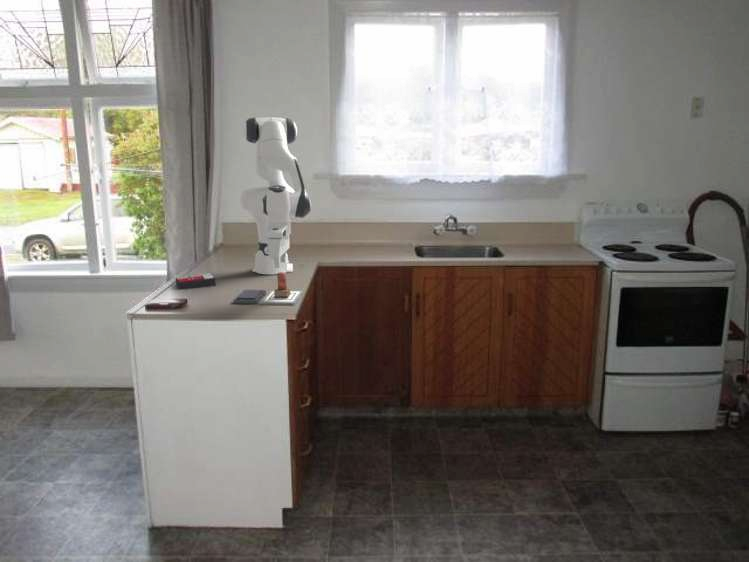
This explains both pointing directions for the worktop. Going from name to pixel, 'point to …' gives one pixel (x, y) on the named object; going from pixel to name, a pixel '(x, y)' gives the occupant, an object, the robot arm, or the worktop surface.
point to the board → (281, 299)
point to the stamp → (282, 287)
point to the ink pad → (249, 297)
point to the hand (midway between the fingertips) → (280, 264)
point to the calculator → (195, 281)
